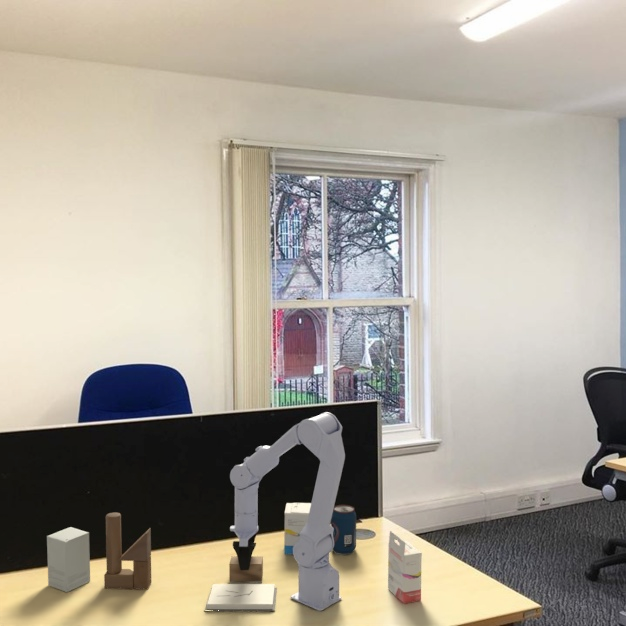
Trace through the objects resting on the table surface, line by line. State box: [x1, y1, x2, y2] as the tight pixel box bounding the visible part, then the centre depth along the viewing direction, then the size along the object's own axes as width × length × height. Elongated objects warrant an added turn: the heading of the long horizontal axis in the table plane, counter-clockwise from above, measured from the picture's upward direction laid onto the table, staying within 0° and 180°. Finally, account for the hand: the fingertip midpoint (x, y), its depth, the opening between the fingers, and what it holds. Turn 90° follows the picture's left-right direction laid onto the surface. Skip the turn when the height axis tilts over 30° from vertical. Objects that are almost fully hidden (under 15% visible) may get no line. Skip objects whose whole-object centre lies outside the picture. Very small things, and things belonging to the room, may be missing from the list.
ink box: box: [283, 502, 311, 555], centre depth 193 cm, size 9×8×12 cm
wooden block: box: [103, 511, 152, 590], centre depth 170 cm, size 4×11×18 cm, turn 88°
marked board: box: [204, 583, 278, 613], centre depth 163 cm, size 16×11×2 cm
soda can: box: [330, 504, 357, 556], centre depth 191 cm, size 7×7×12 cm
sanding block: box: [228, 555, 264, 584], centre depth 174 cm, size 8×4×5 cm, turn 90°
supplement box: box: [46, 526, 91, 593], centre depth 171 cm, size 7×7×13 cm
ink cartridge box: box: [387, 530, 423, 604], centre depth 166 cm, size 9×5×15 cm, turn 21°
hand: (246, 562), depth 174 cm, fingers open, 7 cm apart
